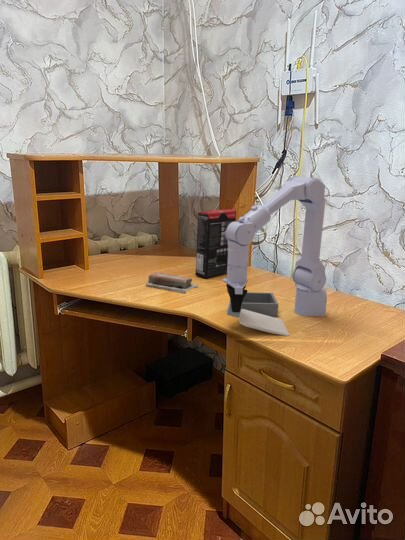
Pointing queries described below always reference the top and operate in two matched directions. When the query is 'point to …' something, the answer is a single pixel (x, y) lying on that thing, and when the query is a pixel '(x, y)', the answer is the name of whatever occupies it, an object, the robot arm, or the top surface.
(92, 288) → the top surface
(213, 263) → the graphics card box
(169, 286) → the packaged product
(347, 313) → the top surface
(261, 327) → the white slab
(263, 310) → the gray open box
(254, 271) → the top surface
